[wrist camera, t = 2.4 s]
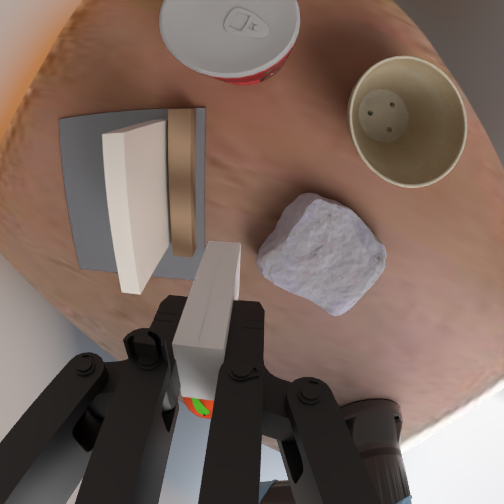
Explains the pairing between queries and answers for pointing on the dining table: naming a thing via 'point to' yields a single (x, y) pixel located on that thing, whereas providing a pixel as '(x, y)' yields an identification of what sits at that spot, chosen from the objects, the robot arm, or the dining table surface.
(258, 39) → the canned food
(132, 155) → the tile
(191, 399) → the clementine
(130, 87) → the dining table surface
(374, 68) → the flower pot
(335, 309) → the stone block
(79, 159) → the mat
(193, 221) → the strip
